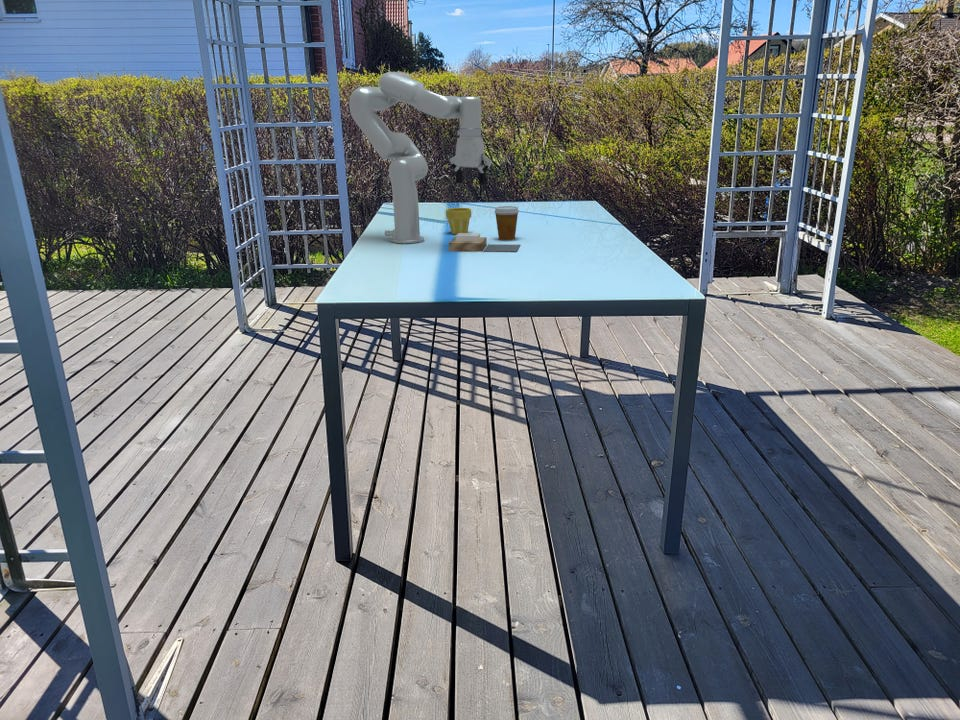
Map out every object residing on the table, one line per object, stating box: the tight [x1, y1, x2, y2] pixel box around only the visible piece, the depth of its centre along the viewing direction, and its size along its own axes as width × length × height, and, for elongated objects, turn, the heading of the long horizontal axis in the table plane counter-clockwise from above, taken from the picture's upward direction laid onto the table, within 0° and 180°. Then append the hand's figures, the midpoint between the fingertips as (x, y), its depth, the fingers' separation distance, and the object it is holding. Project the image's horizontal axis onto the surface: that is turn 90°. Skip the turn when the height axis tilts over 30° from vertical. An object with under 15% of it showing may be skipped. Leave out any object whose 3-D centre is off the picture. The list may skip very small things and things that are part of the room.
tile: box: [455, 232, 481, 242], centre depth 257 cm, size 8×6×2 cm
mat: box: [482, 243, 521, 253], centre depth 257 cm, size 12×13×1 cm
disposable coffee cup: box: [493, 205, 520, 241], centre depth 273 cm, size 10×10×12 cm
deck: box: [448, 236, 488, 253], centre depth 258 cm, size 12×12×3 cm
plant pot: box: [445, 207, 472, 235], centre depth 289 cm, size 10×10×10 cm
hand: (470, 183), depth 256 cm, fingers open, 9 cm apart
